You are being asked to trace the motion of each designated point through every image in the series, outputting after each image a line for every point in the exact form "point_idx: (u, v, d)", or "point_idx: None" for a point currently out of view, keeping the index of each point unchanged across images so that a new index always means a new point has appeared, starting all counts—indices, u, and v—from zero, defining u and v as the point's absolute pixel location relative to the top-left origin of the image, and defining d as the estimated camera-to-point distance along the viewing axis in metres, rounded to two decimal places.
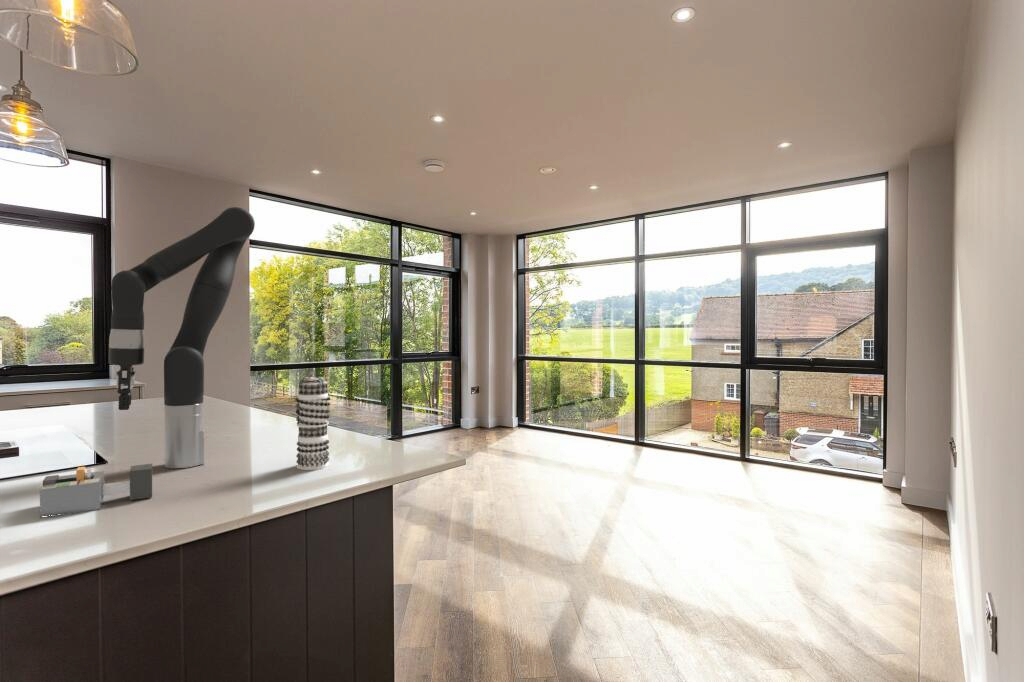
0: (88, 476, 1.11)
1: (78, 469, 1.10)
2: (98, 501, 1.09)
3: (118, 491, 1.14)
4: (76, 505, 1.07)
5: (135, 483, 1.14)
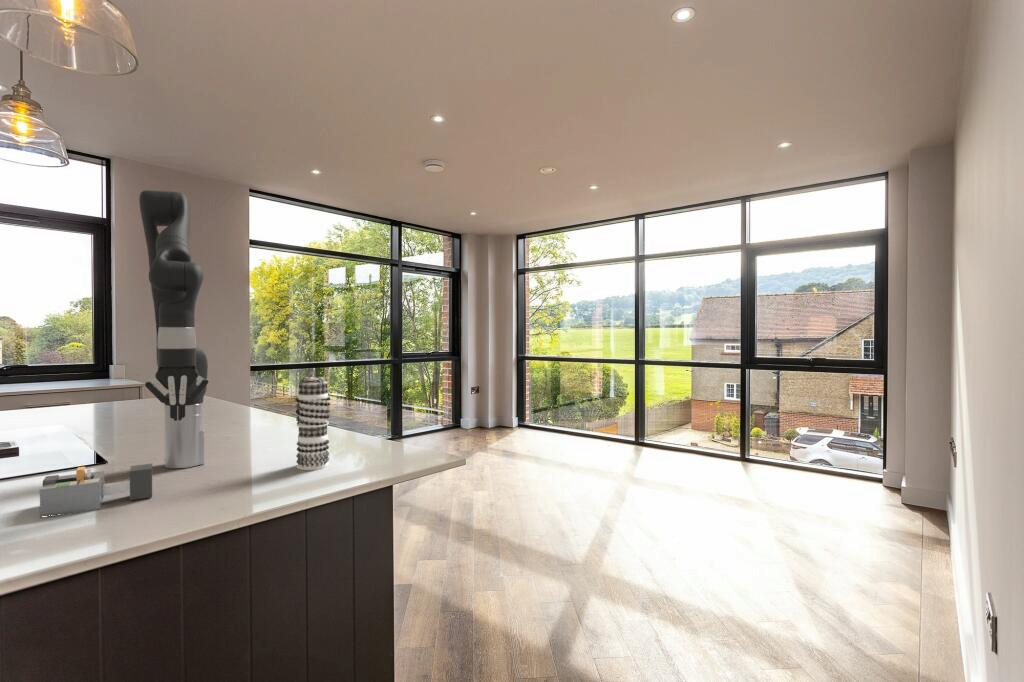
0: (88, 476, 1.11)
1: (78, 469, 1.10)
2: (98, 501, 1.09)
3: (118, 491, 1.14)
4: (76, 505, 1.07)
5: (135, 483, 1.14)
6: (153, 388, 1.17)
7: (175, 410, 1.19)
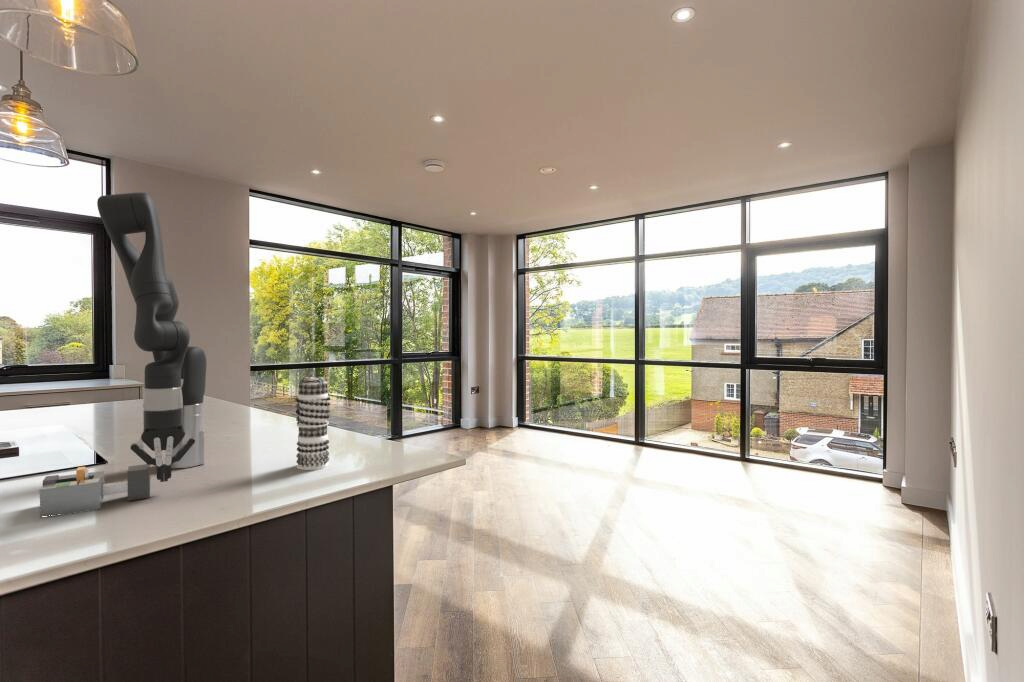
0: (86, 476, 1.11)
1: (78, 469, 1.10)
2: (98, 501, 1.09)
3: (116, 491, 1.14)
4: (76, 505, 1.07)
5: (132, 483, 1.14)
6: (139, 451, 1.15)
7: (162, 471, 1.18)
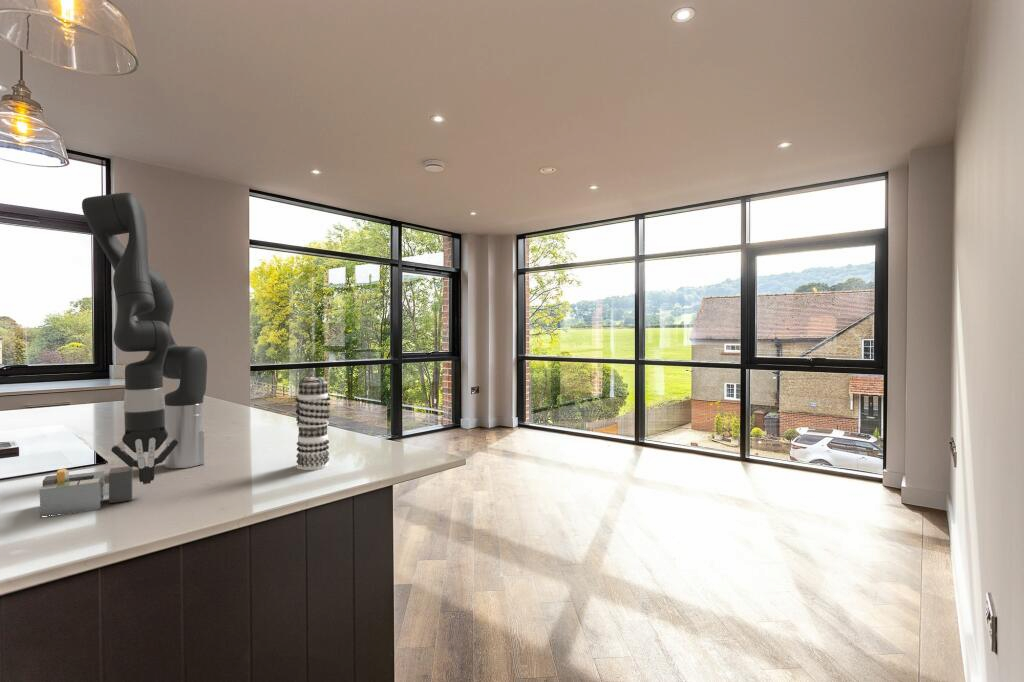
0: (66, 479, 1.09)
1: (58, 471, 1.08)
2: (98, 501, 1.09)
3: None
4: (76, 505, 1.07)
5: (114, 485, 1.12)
6: (120, 453, 1.14)
7: (144, 473, 1.16)
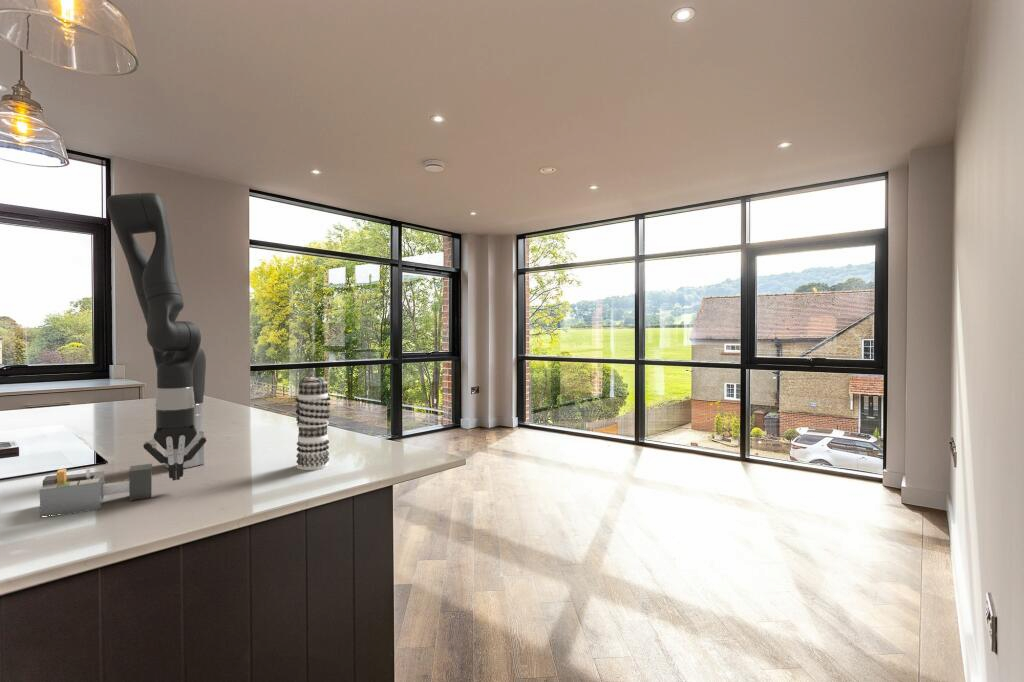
0: (87, 476, 1.11)
1: (58, 471, 1.08)
2: (98, 501, 1.09)
3: (117, 491, 1.14)
4: (76, 505, 1.07)
5: (134, 483, 1.14)
6: (151, 449, 1.17)
7: (174, 470, 1.20)
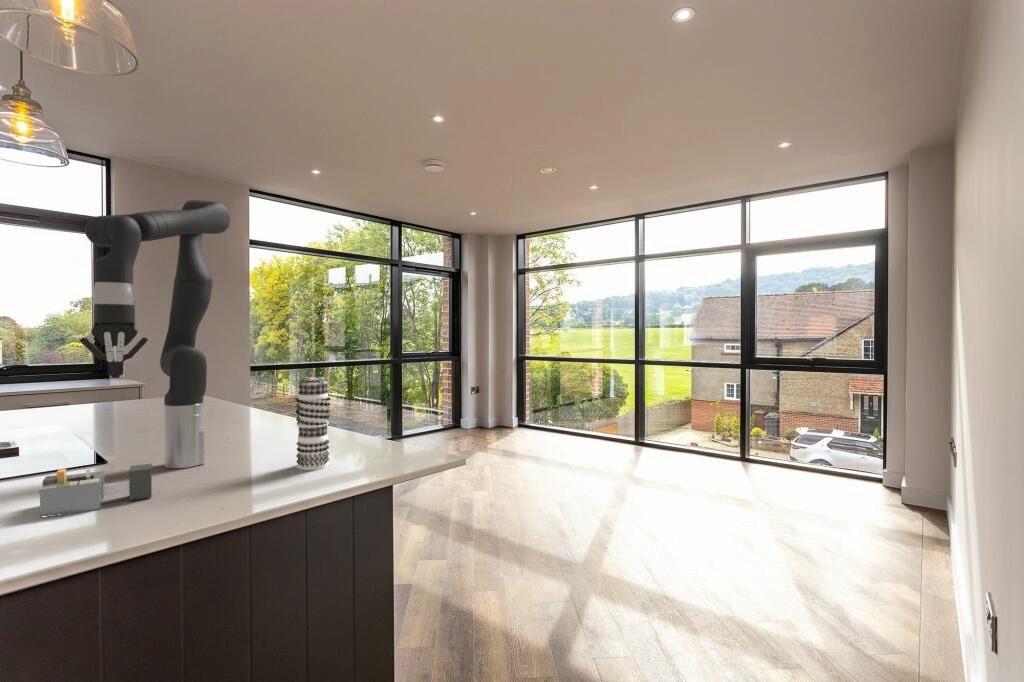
0: (87, 476, 1.11)
1: (58, 471, 1.08)
2: (98, 501, 1.09)
3: (117, 491, 1.14)
4: (76, 505, 1.07)
5: (134, 483, 1.14)
6: (89, 344, 1.15)
7: (113, 367, 1.18)
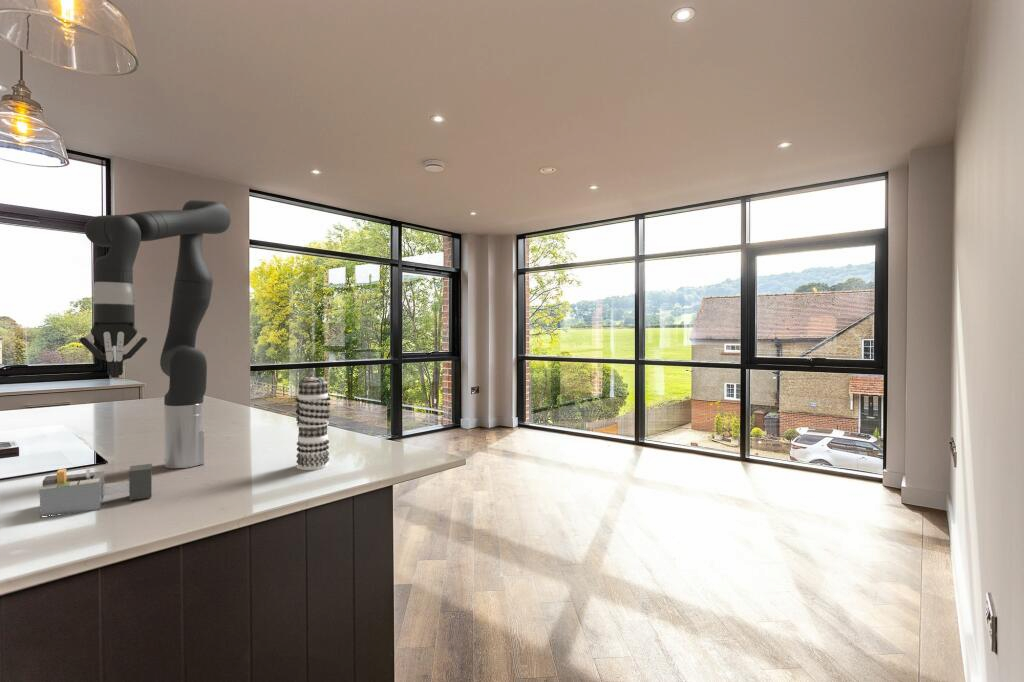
0: (87, 476, 1.11)
1: (58, 471, 1.08)
2: (98, 501, 1.09)
3: (117, 491, 1.14)
4: (76, 505, 1.07)
5: (134, 483, 1.14)
6: (88, 344, 1.15)
7: (112, 367, 1.18)
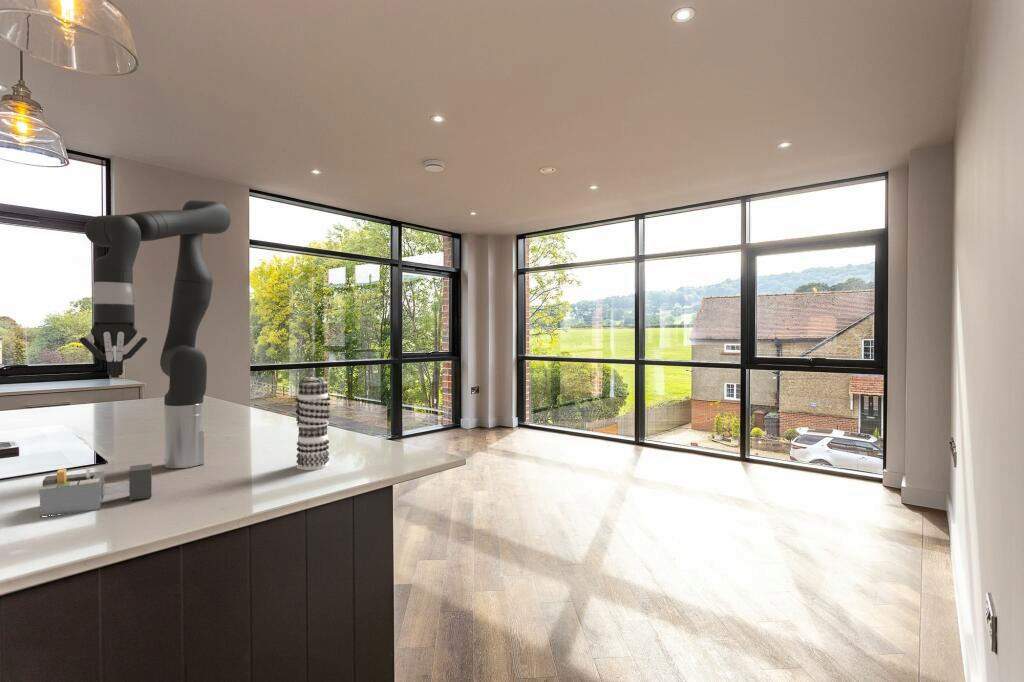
0: (87, 476, 1.11)
1: (58, 471, 1.08)
2: (98, 501, 1.09)
3: (117, 491, 1.14)
4: (76, 505, 1.07)
5: (134, 483, 1.14)
6: (88, 344, 1.15)
7: (112, 367, 1.18)
